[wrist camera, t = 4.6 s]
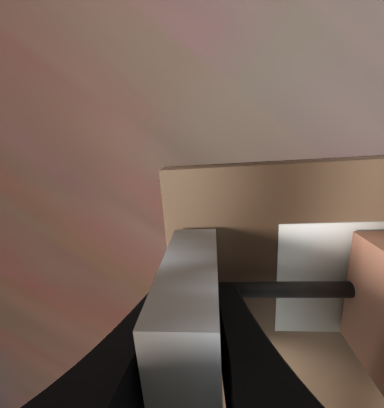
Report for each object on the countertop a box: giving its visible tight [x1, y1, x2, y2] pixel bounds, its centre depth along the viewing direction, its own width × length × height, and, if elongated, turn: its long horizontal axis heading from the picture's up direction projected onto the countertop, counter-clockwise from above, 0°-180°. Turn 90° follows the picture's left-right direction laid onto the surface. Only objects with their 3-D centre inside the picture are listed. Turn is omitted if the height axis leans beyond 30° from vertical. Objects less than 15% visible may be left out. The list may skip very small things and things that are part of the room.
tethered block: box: [133, 229, 384, 408], centre depth 7 cm, size 11×5×5 cm, turn 93°
